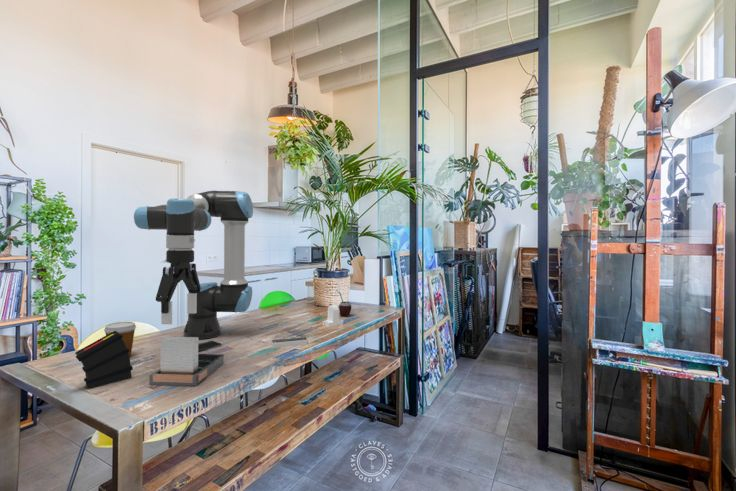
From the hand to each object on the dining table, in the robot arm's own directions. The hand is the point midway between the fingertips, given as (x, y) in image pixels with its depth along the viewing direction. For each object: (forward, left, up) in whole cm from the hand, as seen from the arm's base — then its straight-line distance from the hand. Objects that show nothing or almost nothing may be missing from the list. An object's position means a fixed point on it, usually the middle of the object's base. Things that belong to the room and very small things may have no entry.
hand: (180, 318), depth 106 cm
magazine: (-21, -3, -20) cm, 29 cm away
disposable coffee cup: (-32, +18, -20) cm, 42 cm away
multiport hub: (+25, +38, -20) cm, 50 cm away
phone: (-9, +30, -20) cm, 37 cm away
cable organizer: (+39, +73, -20) cm, 85 cm away
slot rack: (0, +6, -19) cm, 20 cm away
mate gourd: (+43, +92, -20) cm, 103 cm away
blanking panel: (0, 0, -18) cm, 18 cm away
